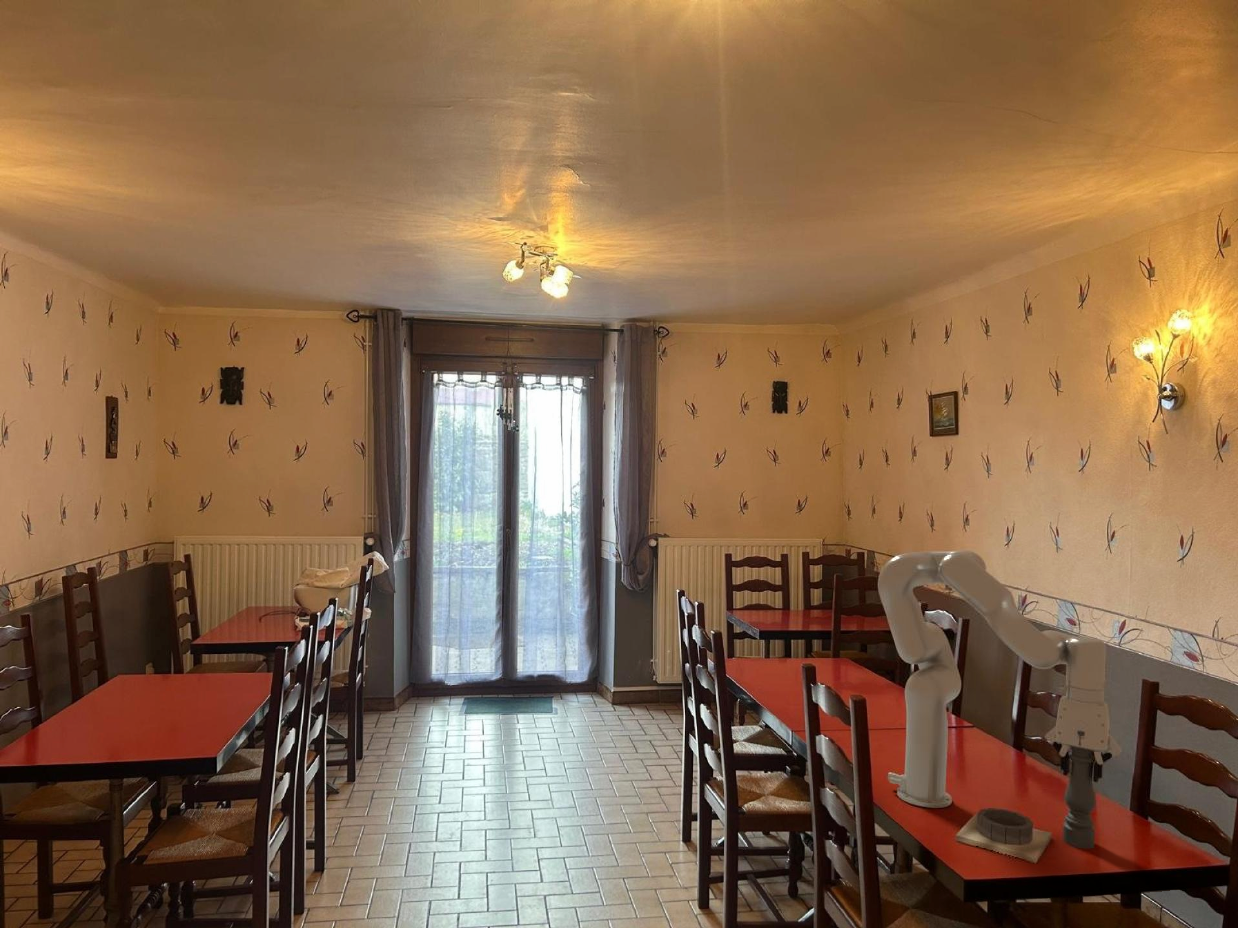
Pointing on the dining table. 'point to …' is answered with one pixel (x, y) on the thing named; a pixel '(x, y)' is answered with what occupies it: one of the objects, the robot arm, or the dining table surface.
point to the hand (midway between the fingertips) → (1081, 776)
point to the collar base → (1005, 834)
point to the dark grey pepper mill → (1080, 799)
